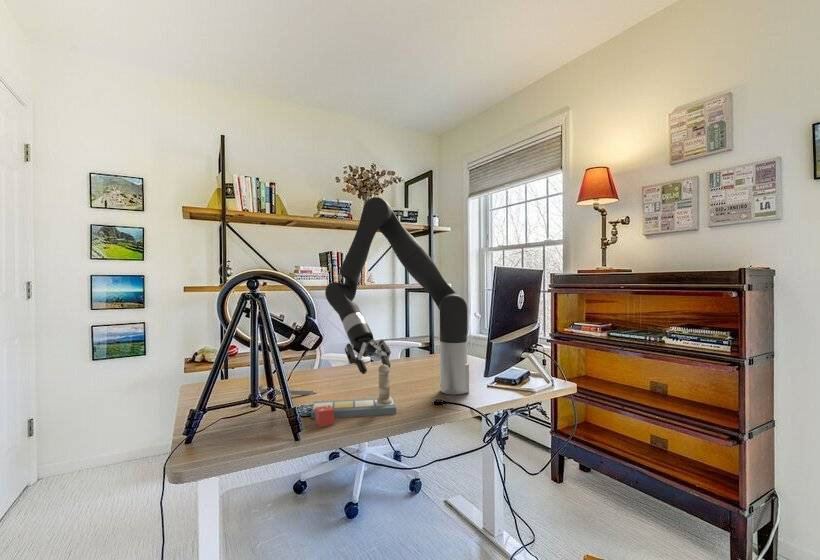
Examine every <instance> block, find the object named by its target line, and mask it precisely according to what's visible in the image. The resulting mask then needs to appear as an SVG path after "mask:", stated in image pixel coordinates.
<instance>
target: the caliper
mask: <svg viewBox="0 0 820 560" xmlns="http://www.w3.org/2000/svg"><path fill="white" fill-rule="evenodd" d="M267 388H268V387H264V385H263V384H261V385H259V391H260V393H262V392H265V391H267ZM274 388H275V391H276V397H277V396H278V395H279V396H282V395H281V392H280V390H281V389H278V388H276V387H274ZM289 390H290V393H291V395H290V396H297V395H298V396H310V395H313V394H317V392H316V391H314V390H313V389H289Z"/></svg>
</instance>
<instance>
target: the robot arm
mask: <svg viewBox="0 0 820 560" xmlns="http://www.w3.org/2000/svg"><path fill="white" fill-rule="evenodd" d="M377 231H379V232H380V233H381V234H382V235H383V236H384V237H385V239H386V240H387V241H388V243H389V244H390V246H391V248H392V251H393V253H394V255H396V258H397V259H398V261H399V262H400V263H401V264H402V266H403V267H404V269H405V270H406V271H407V272H408V274H409V275H410V276H411V277H412V278H413V279H414V281H416V282H417V284H418V285H420V286H421V287H422V288H423V289H424V290H425V291H426V292H427V293H428V294H429V296H430V297H431V298H432V300H433V302H434V303H435V305H436V307H437V309H438V310H439V372H440V373H439V374H440V375H439V377H440V381H439V383H440V384H439V385H440V389H439V390H440V392H441V393H443V394H444V395H445V394H447V395H453V396H455V395H464V394H467V393H468V394H469V393H470V365H469V363H468V342H467V341H468V305H467V303H466V300H465V299H464V298H463V297H461V296H460V295H459V294H458V293H457V292H456V291H455V290H454V289H453V288H452V287H451V286H450V284H449V283H447V282H446V280H445V279H444V277H443V276H442V274H441V272H440V270H439V269H438V266H437V265H436V264H435V262H434V260H433V259H432V258H431V256H430V255H429V253H428V252H427V251H426V250H425V249H424V248H423V246H422V245H421V243H419V241H417V239H416V238H415V237H414V236H413V235H412V234H411V233H410V232H409V231H408V230H407V229H406V228H405V226H403V225H402V223H401V220H399V219H398V217H397V216H396V214H395V212H394V210H393V208H392V207H391V205H390V203H388V202H387V200H385V199H383V197H382V198H381V197H379V196H374V197H371V198H368V200H366V202H365V203H364V205H363V209H362V213H361V216H360V219H359V223H358V227H357V228H356V232H355V235H354V237H353V240H352V242H351V244H350V247H349V249H348V251H347V253H346V256H345V257H344V260H343V262H342V265H341V266H340V268H339V275H340V276H341V277H342V278H344V283H341V282H337V281H332V282H330V283H328V284H327V286H326V287H325V292H324V294H325V295H324V296H325V298H326V300H327V302H328V303H329V305H330V306H331V307H332V308H333V310H334V311H335V312H336V313H337V314H338V317H339V319H340V320H341V322H342V325H343V328H344V331H345V334H346V335H347V338H348V340H349V343H347V344H346V345H345V347H344V353H345V355H346V357H347V361H348V363H349V364H351V365H353V364H355V365H356V366H357V368H358V370H359V373H361V374H362V375H366V373H367V372H368V368H367V367H366V365H365V362H364V360H363V358H365V357H371V356H372V357H374V358H378V359H379V360H380V361H381V363H382V365H383V364H385V365H387V366H388V367H389V369H390V368H391V362H390V360H389V357H390V355H391V353H392V351H391V350H390V349H389V347H388V345H387V343H386V341H385V340H384V339H380V340H379V341H376V340H375V338H374V335H373V332H372V330H371V329H370V326H369V324H368V322H367V320H366V318H365V316H364V315H363V314H362V312H361V310H360V307H359V306H358V304H357V303H355V302H354V299H355V298H356V297H355V296H356V294H357V288H358V283H359V282H358V281H359V277H360V274H361V273H362V270H363V268H364V267H365V265H366V262H367V258H368V256H369V252H370V248H371V245H372V243H373V240H374V237H375V236H376V234H377ZM376 351H377V352H376ZM354 352H356V353H357V354H356V355H355V353H354Z"/></svg>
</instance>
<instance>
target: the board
mask: <svg viewBox="0 0 820 560" xmlns="http://www.w3.org/2000/svg"><path fill="white" fill-rule="evenodd" d="M391 397H392V402H391V403H390V404H378V403H377V398H378V397H375V398H373V397H372V398H357V399H356V398H355V399H353V398H352V399H338V400H321V401H313V404H312V408H311V412H310V419H311V418H315V408H316V407H322V406H328V405H330V406H331V407H332V408H333V409H334V417H336V418H348V416H352V417H362V416H363V417H365V416H367V417H369V416H381V415H382V416H383V415H397V406H396V403H395V400H394V398H393V396H391Z"/></svg>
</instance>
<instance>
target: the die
mask: <svg viewBox="0 0 820 560" xmlns="http://www.w3.org/2000/svg"><path fill="white" fill-rule="evenodd" d="M314 422H315V424H316V423H317V424H318V425H317V424H316V425H317V426H318V428H321V427H320V426H322V427H326V426H325V425H327V426H331V425H330V424H333V425H335V418H334V409H333V408H332V407H331V406H330V405H328V406H322V407H316V408H315V419H314Z"/></svg>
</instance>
